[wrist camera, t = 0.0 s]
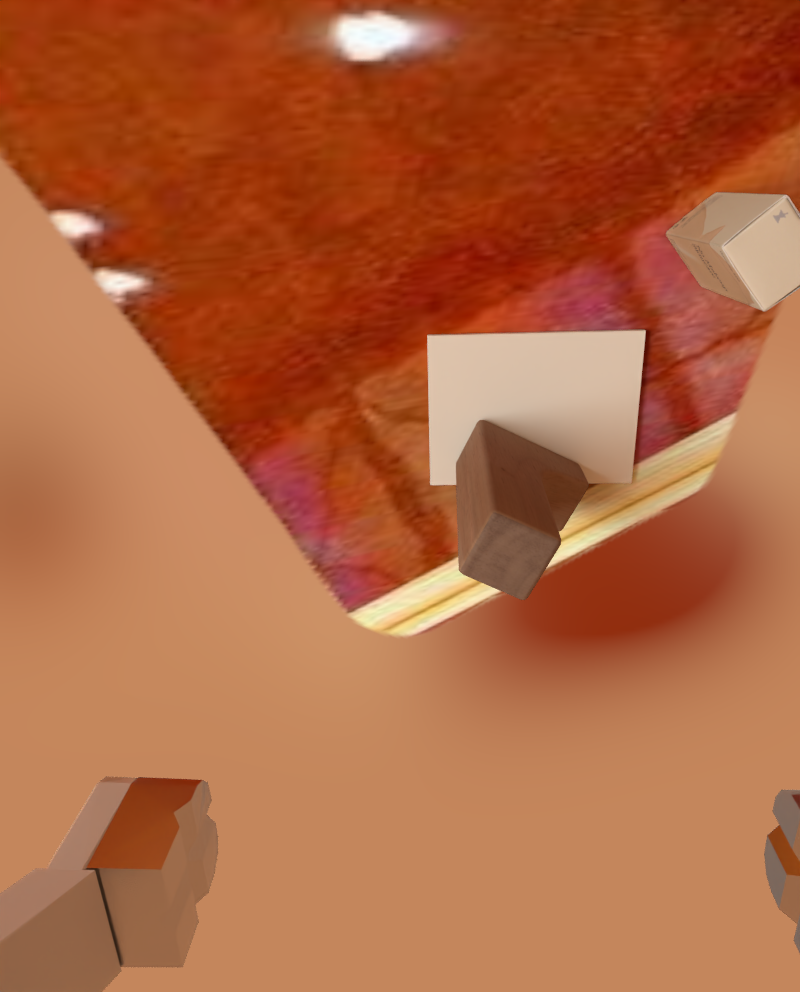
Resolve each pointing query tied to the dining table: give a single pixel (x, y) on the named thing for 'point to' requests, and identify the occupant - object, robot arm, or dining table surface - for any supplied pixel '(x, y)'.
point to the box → (742, 246)
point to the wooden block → (512, 507)
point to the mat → (538, 395)
